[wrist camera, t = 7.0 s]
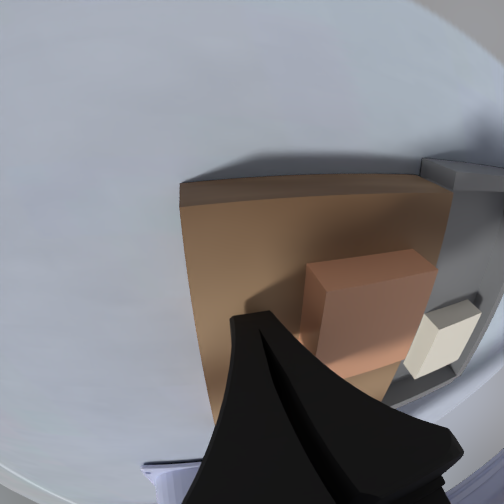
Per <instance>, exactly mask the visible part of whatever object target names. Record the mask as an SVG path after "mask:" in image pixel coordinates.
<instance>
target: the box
mask: <svg viewBox="0 0 504 504" xmlns="http://www.w3.org/2000/svg"><path fill="white" fill-rule="evenodd" d="M420 177H422V178H424V179H426V180H428V181H430V182H432V183H435V184H437V185H439V186H441V187H443V188H445V189H447V190H449V191H451V192H453V199H452V204H451V209H450V213H449V218H448V222H447V227H446V231H445V235H444V239H443V243H442V247H441V250H440V254H439V258H438V261H437V264H436V268H437V269H438V273H437V276H436V280H435V283H434V286H433V289H432V292H431V295H430V298H429V300H428V303H427V306H426V309H425V311H424V314H425V313H428V312H431V311H434V310H437V309H441V308H444V307H447V306H450V305H453V304H455V303H458V302H461V301H464V300H467V299H468V300H469V301H470V302H471V303H472V304H473V305H474V306H476V307H477V308H478V309H479V310H480V311H481V312H482V313H481V315H480V318H479V320H478V322H477V324H476V326H475V328H474V330H473V332H472V334H471V336H470V338H469V340H468V342H467V344H466V346H465V347H464V349H463V351H462V353H461V355H460V357H459V358H458V360H456V361H454V362H452V363H450V364H448V365H446V366H444V367H442V368H440V369H437V370H435V371H433V372H431V373H428V374H426V375H424V376H422V377H419V378H417V379H414V378H413V376H412V375H411V374H410V372H409V371H408V370H407V368H406V367H405V365H404V364H403V363H404V361H405V359H406V358H405V359H404V360H401V362H400V364H399V367H398V369H397V371H396V373H395V375H394V377H393V379H392V381H391V383H390V386H389V388H388V390H387V392H386V394H385V396H384V397H383V399H382V401H381V402H382V403H384V404H386V405H388V406H390V407H392V408H394V409H396V408H399V407H401V406H403V405H406V404H408V403H410V402H413V401H415V400H417V399H419V398H421V397H424V396H426V395H428V394H430V393H432V392H434V391H436V390H438V389H440V388H442V387H444V386H446V385H448V384H450V383H452V382H453V381H454V379H455V378H457V377H459V376H461V374H462V373H463V371H464V369H465V368H466V366H467V364H468V363H469V361H470V359H471V358H472V356H473V354H474V352H475V351H476V349H477V347H478V345H479V343H480V341H481V340H482V338H483V336H484V334H485V332H486V330H487V328H488V326H489V324H490V322H491V320H492V318H493V316H494V314H495V312H496V309H497V307H498V305H499V303H500V301H501V298H502V296H503V294H504V168H500V167H493V166H487V165H480V164H473V163H465V162H457V161H448V160H439V159H428V158H422V164H421V172H420ZM424 314H423V315H424ZM422 318H423V317H422ZM421 321H422V319H421ZM420 323H421V322H420ZM419 326H420V325H419ZM418 328H419V327H418ZM417 331H418V330H417ZM416 333H417V332H416ZM415 336H416V335H415ZM414 338H415V337H414ZM413 340H414V339H413ZM412 343H413V342H412ZM411 345H412V344H411ZM410 347H411V346H410ZM409 350H410V349H409ZM408 352H409V351H408ZM407 354H408V353H407Z"/></svg>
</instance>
